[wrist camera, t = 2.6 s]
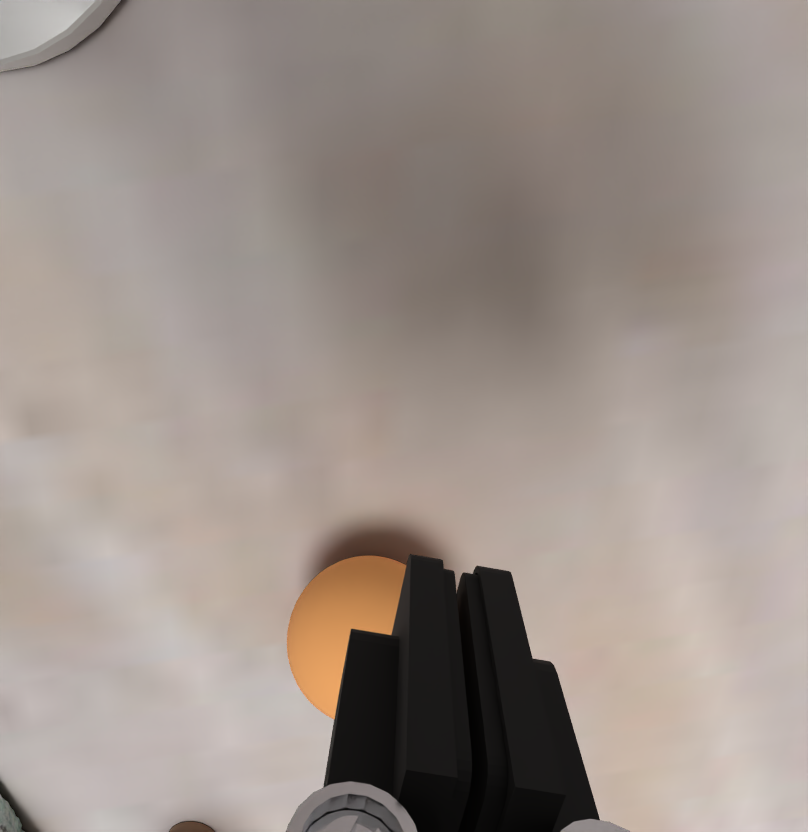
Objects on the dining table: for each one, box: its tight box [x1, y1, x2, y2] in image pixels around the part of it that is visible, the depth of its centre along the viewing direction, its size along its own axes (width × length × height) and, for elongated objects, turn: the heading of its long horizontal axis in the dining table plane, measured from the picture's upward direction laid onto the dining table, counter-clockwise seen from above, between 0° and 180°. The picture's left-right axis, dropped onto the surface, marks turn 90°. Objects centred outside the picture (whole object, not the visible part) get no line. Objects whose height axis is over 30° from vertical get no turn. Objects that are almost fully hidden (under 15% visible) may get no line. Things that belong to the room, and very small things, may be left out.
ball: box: [287, 556, 406, 719], centre depth 23 cm, size 6×6×6 cm
